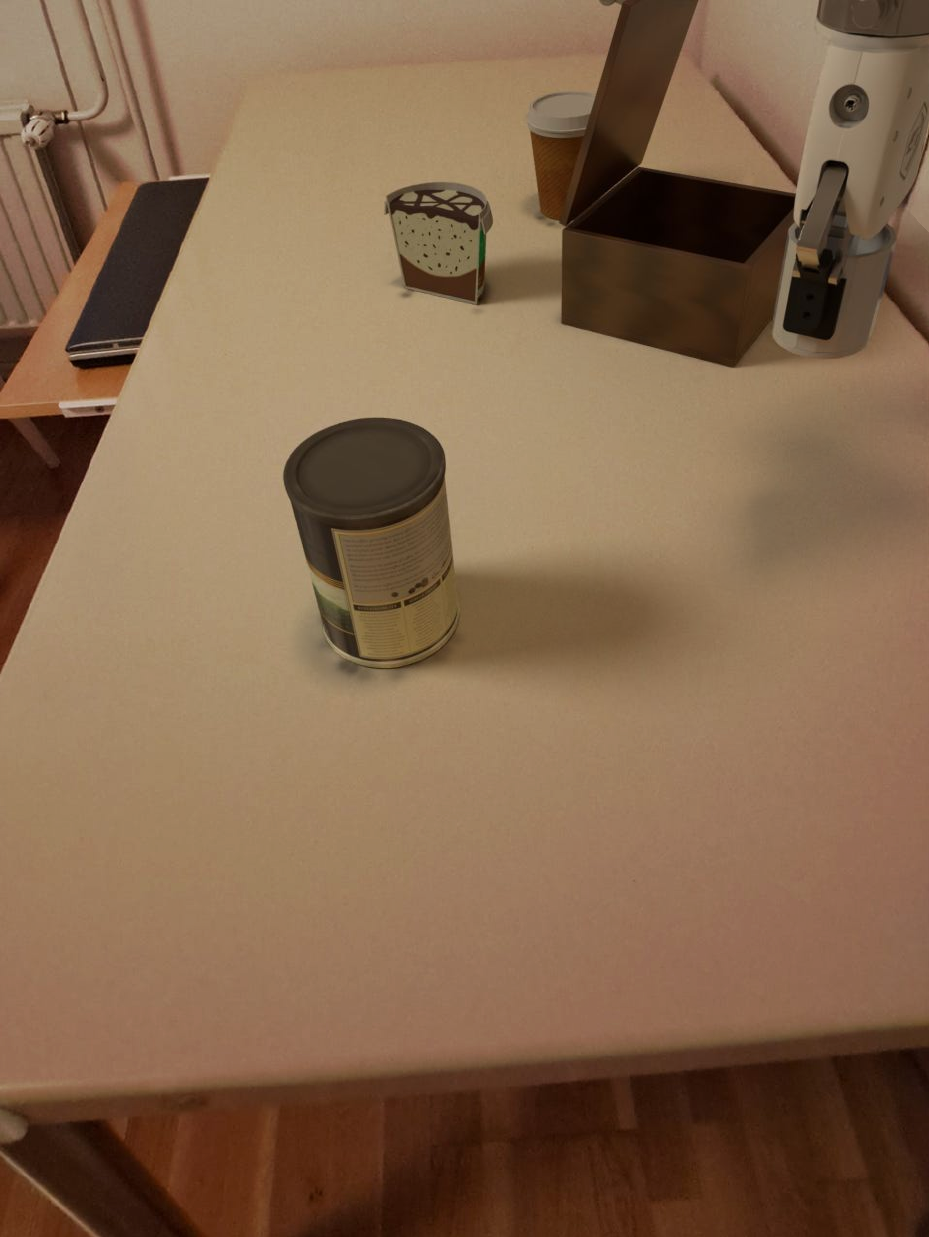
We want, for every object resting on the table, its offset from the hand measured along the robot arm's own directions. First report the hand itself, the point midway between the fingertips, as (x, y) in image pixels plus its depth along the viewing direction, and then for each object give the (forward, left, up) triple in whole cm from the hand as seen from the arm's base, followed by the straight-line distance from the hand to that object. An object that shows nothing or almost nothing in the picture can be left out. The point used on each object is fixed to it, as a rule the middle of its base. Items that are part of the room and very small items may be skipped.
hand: (826, 305), depth 62 cm
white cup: (0, 0, -2) cm, 2 cm away
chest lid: (+26, -26, +2) cm, 37 cm away
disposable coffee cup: (+42, -42, -17) cm, 62 cm away
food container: (+44, -20, -17) cm, 51 cm away
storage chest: (+20, -26, -17) cm, 37 cm away
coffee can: (+20, +25, -17) cm, 37 cm away
